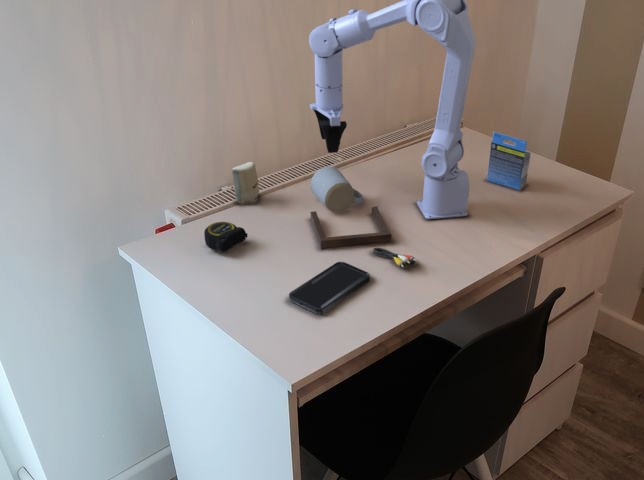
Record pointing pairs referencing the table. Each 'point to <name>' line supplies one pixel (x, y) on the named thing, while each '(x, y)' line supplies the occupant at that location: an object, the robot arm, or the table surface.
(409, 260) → the composite cable
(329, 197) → the ceramic mug
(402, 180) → the table surface
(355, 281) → the phone
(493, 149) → the label tape box
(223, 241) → the tape measure
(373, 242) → the frame
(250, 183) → the beige upright block
